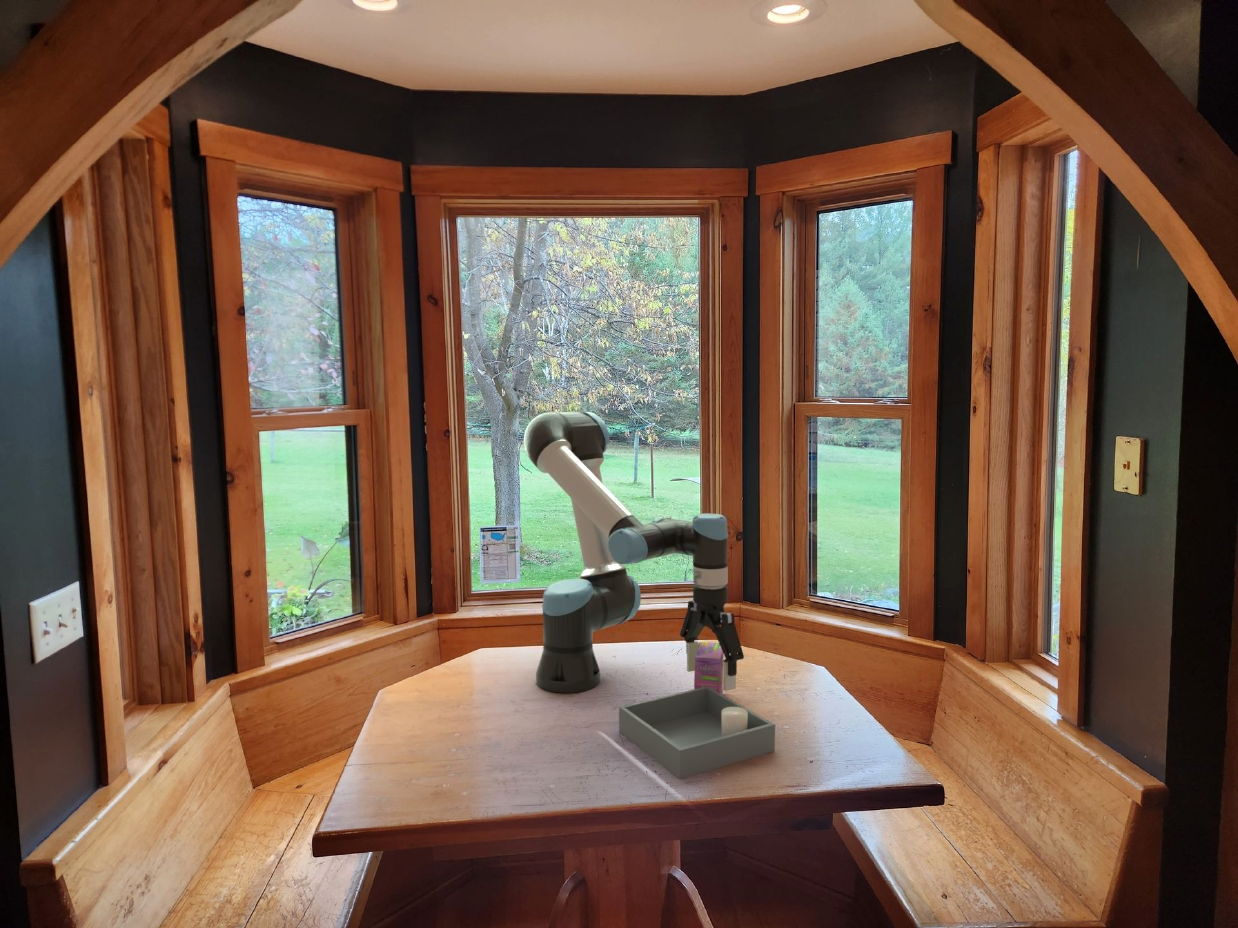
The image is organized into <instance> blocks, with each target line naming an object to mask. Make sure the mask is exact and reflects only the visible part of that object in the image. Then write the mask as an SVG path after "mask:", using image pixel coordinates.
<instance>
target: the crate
mask: <svg viewBox="0 0 1238 928" xmlns="http://www.w3.org/2000/svg"><path fill="white" fill-rule="evenodd" d="M726 707H740V708H743V709H745V710H746V711H747V712H748V727H747V730H744V731H741V732H737V733H733V734H730V735H726V736H722V737H721V719H722V709H724V708H726ZM618 733H619V734H620V735H623V737H625V738H626V739H627V740H629V742H631V743H632V744H634V745H635V746H636V747H637V748H639V749H640V750H641V751H642V752H644V753H646V755H647V756H649V757H650V758H651V759H652V760H654V761H655V762H657V763H658V764H660V766H662V767H663V768H665V769H666V770H667V771H669V772H670V773H671V774H672V775H673V776H674V777H676V778H677V779H679V780H682V779H685V778H689V777H693V776H696V775H699V774H701V773H705V772H709V771H713V770H716V769H719V768H724V767H726V766H729V765H732V764H736V763H740V762H742V761H746V760H749V759H752V758H756V757H759V756H763V755H767V754H770V753H772V752H775V749H776V747H775V743H776V741H775V740H776V724H775V723H773V722H772V721H770V720H768V719H765V718H764V717H763V716H761V715H759V714H757V713H755V712H753V711H752V710H750V709H748V708H747V707H745V706H744V705H741V704H739V703H738V702H736V701H734V700H732V698H729V697H728V696H725V695H723V693H722V694H720V693H718V692H717V691H715V690H713V689H711V688H710V687H708V686H707V687H703V688H698V689H694V688H693V689H691V690H686V691H682V692H681V691H680V692H676V693H673V694H669V695H664V696H661V697H660V696H659V697H656V698H650V699H647V700H642V701H639V702H634V703H630V704H625V705H621V706H618Z"/></svg>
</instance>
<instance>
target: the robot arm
mask: <svg viewBox="0 0 1238 928" xmlns="http://www.w3.org/2000/svg"><path fill="white" fill-rule="evenodd" d="M523 436H524V437H523V445H524V448H525V452H526V455H527V456H528V458H529V460H530V462H532V464H533V465H534V466H535V467H536V468H537V470H539V471H540V472H541V473H543V474H548V475H549V476H550V477H551V479H553V480H554V481H555V483H556V484H557V485H558V486H559V487H560V488H561V489H562V490H563V492H565V494H567V496H568V497H570V502H571V506H572V510H573V516H574V521H575V527H576V531H577V536H578V543H579V547H580V551H581V556H582V562H583V568H584V569H583V571H582V572H581V574H580V575H579V578H570V579H562V580H558V581H555V582H553V583H551V584H549V585H548V586H547V587H546V588H545V589H544V591H543V596H542V600H543V601H542V604H541V607H542V625H543V626H542V630H543V631H542V633H543V634H542V637H543V638H542V641H543V647H542V648H543V649H542V653H541V656H540V660H539V662H538V666H537V669H536V673H535V679H536V680H535V683H536V685H537V686H538V687H539V688H540V689H543V690H546V691H549V692H552V693H561V694H562V693H563V694H567V693H577V692H578V693H580V692H584V691H587V690H588V691H589V690H591V689H593V688H595V687H597V686H598V685H599V684H600V682H601V670H600V667H599V664H598V661H597V658H596V655H595V651H594V648H593V639H594V637H593V634H594V632H597V631H600V630H603V629H606V628H609V627H612V626H617V625H621V624H623V623H624V622H627V621H629V620H631V619H633V618H634V617H635V615H636V614H637V612H638V610H639V608H640V606H641V601H642V594H641V589H640V586H639V583H638V582H637V580H635V578H634V577H633V576H632V575H630V574H629V573H628V572H627V568H626V566H625V565H630V564H639V563H641V562H644V561H648V560H652V559H656V558H661V557H664V556H669V555H672V554H673V555H674V554H677V555H678V554H679V555H685V556H692V566H693V567H692V569H693V570H692V572H693V576H692V577H693V580H692V581H693V582H692V583H693V584H694V585H693V587H692V600H689V601H687V610H686V613H685V617H684V619H683V624H682V626H681V629H680V633H679V635H680V638H684V641H685V644H686V646H685V647H686V653H685V654H686V671H687V672H689V673H690V672H695V655H696V652H697V648H698V644H699V642H700V641H698V640H699V636H700V635H701V632H702V631H703V630H704V628H705V627H707V628H708V629H710V630H711V632H712V633H713V634H714V635H715V637H716V639H717V641H718V642H717V643H719V644H720V646H721V649H722V651H723V653H724V654H723V657H724V658H725V659H723V692H724V691H725V692H727V691H731V690H736V687H737V686H736V685H737V684H736V683H737V682H736V679H737V678H736V676H737V672H738V671H737V670H738V667H737V665H738V664H737V663H738V661H739V660H744V659H745V655H744V651H743V649H742V645H741V641H740V637H739V633H738V631H737V630H738V629H737V627H736V623H735V621H736V620H735V613H734V612H725V605H726V604H727V603H728V600H729V598H728V596H729V595H728V588H729V587H728V586H727V584H728V582H729V580H728V579H729V577H728V576H729V574H728V573H729V569H728V543H729V541H728V540H729V532H728V521H727V520H728V519H727V518H726V517H725V515H723V514H720V513H698V514H695V515H694V516H693V518H692V521H689V520H681V519H674V518H671V517H665V518H664V517H663V518H661V517H658V518H655V519H653V520H652V521H651V522H650V523H648V524H643V523H641V522H640V521H639V519H638V518H636V517H635V515H634V514H632V513H631V511H630V510H629V509H628V508H627V507H626V506H625V505H624V504H623V503H622V502H621V501H620V500H619V499H618V498H617V497H616V496H615V494H613V493H612V492H611V490H609V489H608V488H607V486H606V485H605V484H604V483H603V478H602V473H601V466H602V464H603V462H604V461H605V459H604V458H605V457H604V453H605V452H606V451H607V449H608V444H609V443H610V434H609V430H608V427H607V425H606V424H605V422H604V420H603V419H602V418H601V417H600V416H598V415H597V414H595V413H593V412H590V411H581V410H577V411H559V412H545V413H541V414H539V415H537V416H536V417H534V418H532V420H531V421H530V422H529V423H528V425H527V427H526V429H525V431H524V435H523Z"/></svg>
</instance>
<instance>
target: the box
mask: <svg viewBox="0 0 1238 928" xmlns="http://www.w3.org/2000/svg"><path fill="white" fill-rule="evenodd" d="M698 642H699V644H698V648H697V652H696V655H695V671H693V672H694V676H693V677H694V679H693V680H694V681H693V682H694V683H693V690H694V689H698V688H703V687H707V686H708V687H710V688H711V689H713V690H715V691H717V692H718V693H720V694H722V695H723V692H724V690H723V660H724V653H723V651H722V649H721V646H720V644H719V642H708V641H698Z"/></svg>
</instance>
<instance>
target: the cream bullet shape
mask: <svg viewBox="0 0 1238 928" xmlns="http://www.w3.org/2000/svg"><path fill="white" fill-rule="evenodd" d="M747 727H748V712H747V711H746V710H745V709H743V708H740V707H726V708H724V709H722V719H721V737H722V736H726V735H730V734H733V733H737V732H741V731H744V730H747Z"/></svg>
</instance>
